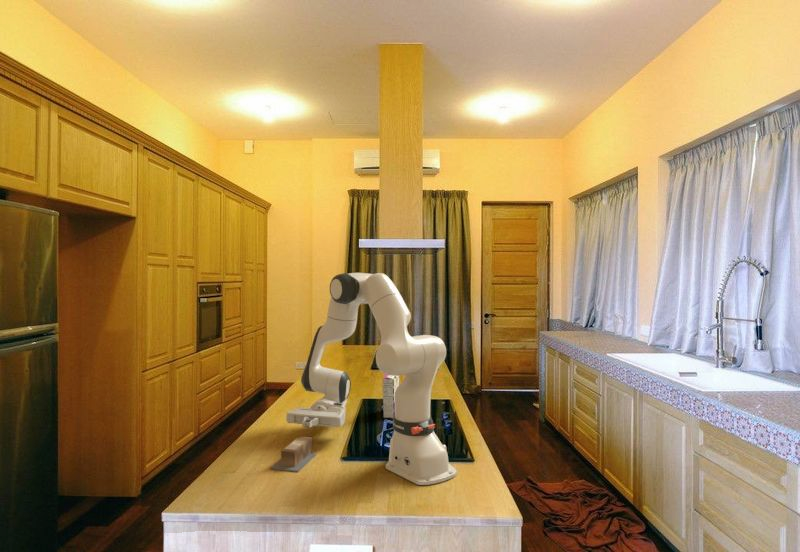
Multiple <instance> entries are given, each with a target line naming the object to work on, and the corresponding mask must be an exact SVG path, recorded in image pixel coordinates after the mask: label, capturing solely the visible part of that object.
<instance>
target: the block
mask: <svg viewBox="0 0 800 552" xmlns="http://www.w3.org/2000/svg"><path fill="white" fill-rule="evenodd" d="M312 440H313V439H312V437H311V436H300V435H299V436H298V437H296V438H295V439H294V440H292V441H291V442H290V443H289V444H287V445H286V446H285V447H283V448H282V449H281V450H280V453H281V454H280V456H281V457H280V460H281V465H284V466H293V467H295V466H296V465H297V464H298V463H299V462H300V461H302V460H303V459H304V458H305V457H306V456H307V455H308V454H309V453H312V451H313V448H312V447H313V441H312Z"/></svg>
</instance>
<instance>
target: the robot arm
mask: <svg viewBox="0 0 800 552" xmlns="http://www.w3.org/2000/svg"><path fill="white" fill-rule="evenodd" d="M329 284H330V285H329V294H330V299H329V302H328V303H329V304H328V307H327V308H328V309H327V315H326V319H325V322H324V324H322V325H320V326H319V327H318V328H317V330H316V331H315V332H316V333H315V334H314V337H313V340H312V344H311V348H310V351H309V355H308V358H307V361H306V364H305V366H304V369H303V372H302V375H301V379H300V383H301V385H302V387H303V388H304V391H306V392H311V393H319V394H323V395H324V396H322V397H321V398H319V399H318V400H317V401H315V402H314V403H313V404H311V405H310V406H311V407H302V406H301V407H295V408H293V409H290V410H288V411H287V412H286V414H285V415H286V416H285V419H286V422H287V424H297V425H301V427H302V428H312V427H314V426H319V427H321V426H323V427H330V428H331V427H332V428H340V427H342V426H343V425H344V424H345V423H346V406H347V403H348V398H349V396H350V393H351V392H350V391H351V388H352V387H351V386H352V381H351V378H350V376H349V374H348V372H346V371H343V370H339V369H335V368H334V369H333V368H329V367H325V366H322V365H321V364H320V363H321V360H322V356H323V353H324V349H325V346H326V345H327V344H330V343H335V342H340V341H343V340H346V339H348V338H350V337H351V336H352V335H353V334H354V333H355V331H356V328H357V323H358V314H359V313H358V312H359V306H360V305H368V306H369V309H370V311H371V314H372V315H373V318H374V319H375V322H376V324H377V326H378V329H379V333H380V344H379V345H378V348H377V349H376V352H375V363H376V365H377V368H378V370H379V371H380V372H381V373H382V374H383V375H385V376H386V375H393V376H399V377H401V376H404V377H403V380H402V381H401V383H399V386H398V388H397V389H396V391H395V416H394V417H393V418H392V428H393V433H392V436H391V437H390V441H389V450H388V451H389V454H388V461H387V463H386V464H385V469H386V470H388V471H390V472H391V473H393V474H396V475H398V476H399V477H401V478H404V479H406V480H408V481H410V482H412V483H413V484H416V485H419V486H429V485H434V484H439V483H443V482H445V481H448V480H450V479H452V478H454V477H456V476H457V474H458V471H457V468H455V467H454V466H453V465H451V463H450V462H449V456H448V455H449V454H448V451H447V450H448V449H447V446H446V444H443V443H442V442H441V441H440V438H439V437H438V435H437V434H436V433H435V428H436V423H434V421H433V418H432V415H431V398H432V397H431V395H432V388H433V384H434V381H435V378H436V375H437V372H438V370H439V368H440V367H441V365H442V363H444V361H445V360H446V358H447V347H446V345H445V342H444V341H443V340H442V338H440V337H439V336H436V335H430V334H422V335H421V334H420V335H414V336H411V334H410V333H409V330H408V326H409V325H410V322H411V319H412V313H411V311H410V309H409V308H408V305H407V304H406V302H405V300H404V298H403V296H402V295H401V293H400V291H399V290H398V288H397V286H396V284H395V283H394V282H393V281H392V279H390V277H389V276H388V275H387V274H385V273H384V272H383V273H382V272H377V273H373V272H372V273H370V272H369V273H366V272H351V273H350V272H349V273H345V272H344V273H340V274H336V275H334V276H333V278H332V279H331V281H330V283H329Z"/></svg>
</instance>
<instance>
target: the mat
mask: <svg viewBox="0 0 800 552" xmlns="http://www.w3.org/2000/svg"><path fill="white" fill-rule="evenodd" d="M316 455H317V453H315V452H310V453H309V454H308V455H307V456H306V457H305V458H304V459H303V460H302V461H300V462H299V463H298V464H297V465H296V466H295V467H293V466H284V465H281V459H280V460H277V462H275V464H273V465H272V466H271V467H270V470H274V471H275V470H276V471H285V472H294V473H299V472H300V471H301V470H302V469H303V468H304V467H305V466H306V465H307V464H308V463H310V461H312V460H313V458H315V457H316Z"/></svg>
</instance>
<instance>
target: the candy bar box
mask: <svg viewBox="0 0 800 552" xmlns="http://www.w3.org/2000/svg"><path fill="white" fill-rule="evenodd" d="M399 385H400V376H393V375H385V376H384V377H382V408H383V409H382V410H383V411H382V412H383V413H382V415H383V418H384V419H393V417H394V416H395V391H396V389H397V388H398V386H399Z"/></svg>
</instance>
